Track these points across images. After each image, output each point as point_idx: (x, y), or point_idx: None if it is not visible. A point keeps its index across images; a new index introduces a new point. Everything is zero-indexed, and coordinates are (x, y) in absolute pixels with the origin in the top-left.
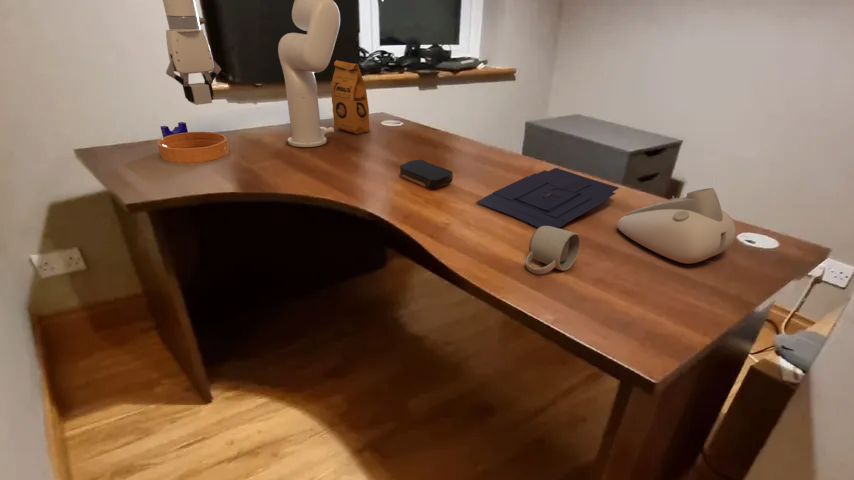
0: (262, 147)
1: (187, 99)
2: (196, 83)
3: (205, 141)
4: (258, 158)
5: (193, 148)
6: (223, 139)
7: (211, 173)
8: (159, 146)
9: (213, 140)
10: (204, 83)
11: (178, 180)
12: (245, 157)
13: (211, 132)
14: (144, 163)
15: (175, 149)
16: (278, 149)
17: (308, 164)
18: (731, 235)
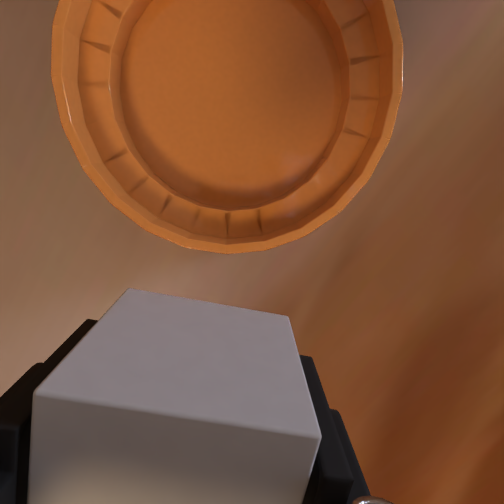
0: (486, 209)
1: (86, 321)
2: (210, 444)
3: (335, 24)
4: (368, 316)
5: (152, 228)
6: (375, 132)
7: None
8: (54, 48)
9: (361, 60)
10: (317, 491)
11: (31, 326)
12: (346, 273)
13: (393, 14)
14: (9, 35)
15: (87, 172)
16: (500, 278)
17: (420, 472)
18: None
